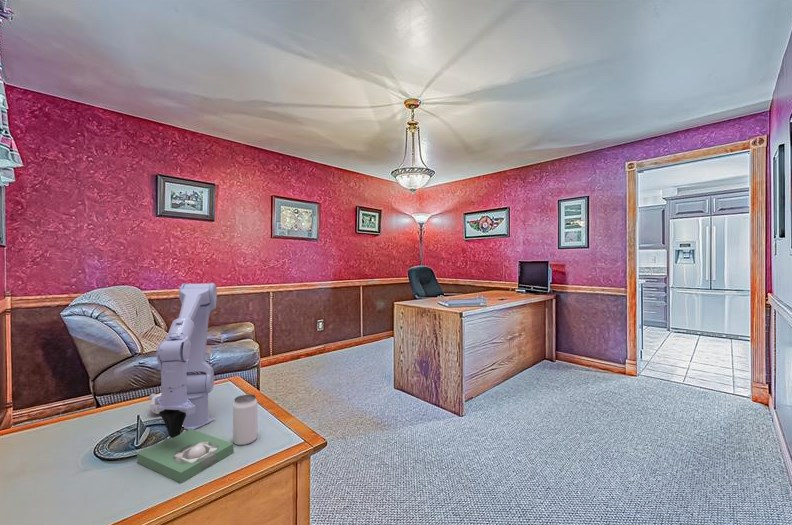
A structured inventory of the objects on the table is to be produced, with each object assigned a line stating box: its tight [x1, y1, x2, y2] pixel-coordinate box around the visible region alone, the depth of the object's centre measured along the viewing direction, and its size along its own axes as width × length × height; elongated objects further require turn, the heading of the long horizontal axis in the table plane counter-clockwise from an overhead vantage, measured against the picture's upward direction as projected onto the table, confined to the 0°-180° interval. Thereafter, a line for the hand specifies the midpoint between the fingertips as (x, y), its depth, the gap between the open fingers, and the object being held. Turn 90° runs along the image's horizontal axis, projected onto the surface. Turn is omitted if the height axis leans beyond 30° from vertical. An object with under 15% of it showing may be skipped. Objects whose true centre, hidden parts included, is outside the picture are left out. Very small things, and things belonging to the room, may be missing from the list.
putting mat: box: [136, 429, 235, 484], centre depth 90 cm, size 18×14×2 cm
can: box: [232, 393, 259, 446], centre depth 99 cm, size 6×6×12 cm
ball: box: [188, 445, 206, 459], centre depth 88 cm, size 4×4×4 cm
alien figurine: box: [148, 392, 163, 415], centre depth 116 cm, size 7×7×12 cm
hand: (174, 435), depth 93 cm, fingers closed
